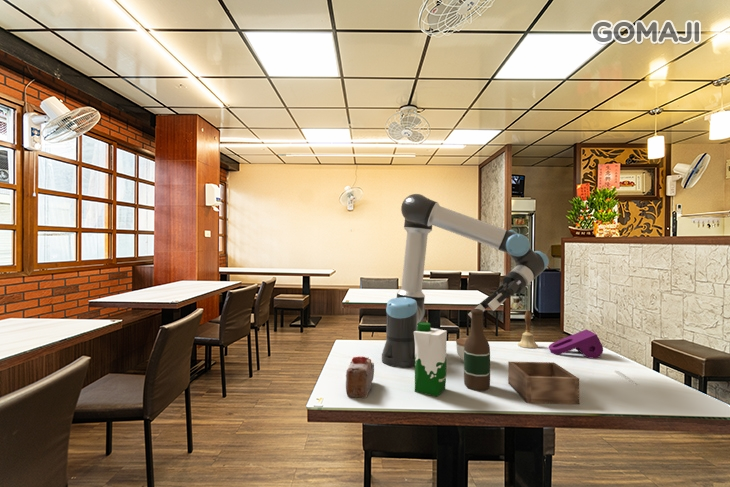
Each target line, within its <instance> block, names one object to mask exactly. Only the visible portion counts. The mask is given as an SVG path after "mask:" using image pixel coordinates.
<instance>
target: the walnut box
mask: <svg viewBox="0 0 730 487" xmlns="http://www.w3.org/2000/svg"><path fill="white" fill-rule="evenodd" d="M507 363H508V367H507V369H508V370H507V372H508V373H507V376H508V380H507V381H508V382H507V383H508V385H509V386H510V387H511V388H512V389H513V390H514V391H515V392H516V393H517V394H518V395H519V396H520V397H521V399H523V401H524V402H525V403H527V404H560V405H561V404H562V405H565V404H566V405H567V404H568V405H580V378H579V377H577V376H576V375H575V374H572V373H571V372H569V371H568V370H567V369H565V368H563V367H562V366H561V365H559V364H557V363H556V362H554V361H553V362H548V361H547V362H543V361H540V362H539V361H508V362H507Z"/></svg>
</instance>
